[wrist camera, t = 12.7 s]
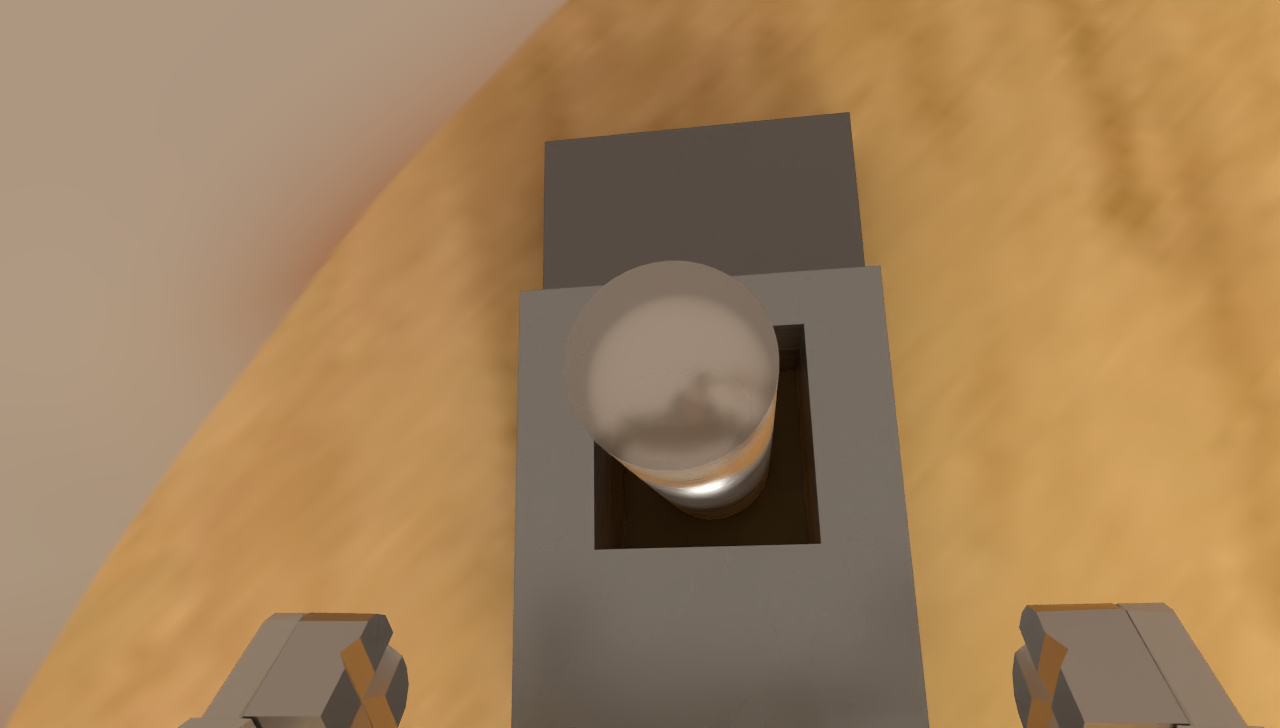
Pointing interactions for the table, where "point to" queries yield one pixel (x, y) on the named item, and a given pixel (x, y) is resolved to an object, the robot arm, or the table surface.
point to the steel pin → (678, 383)
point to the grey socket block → (830, 439)
